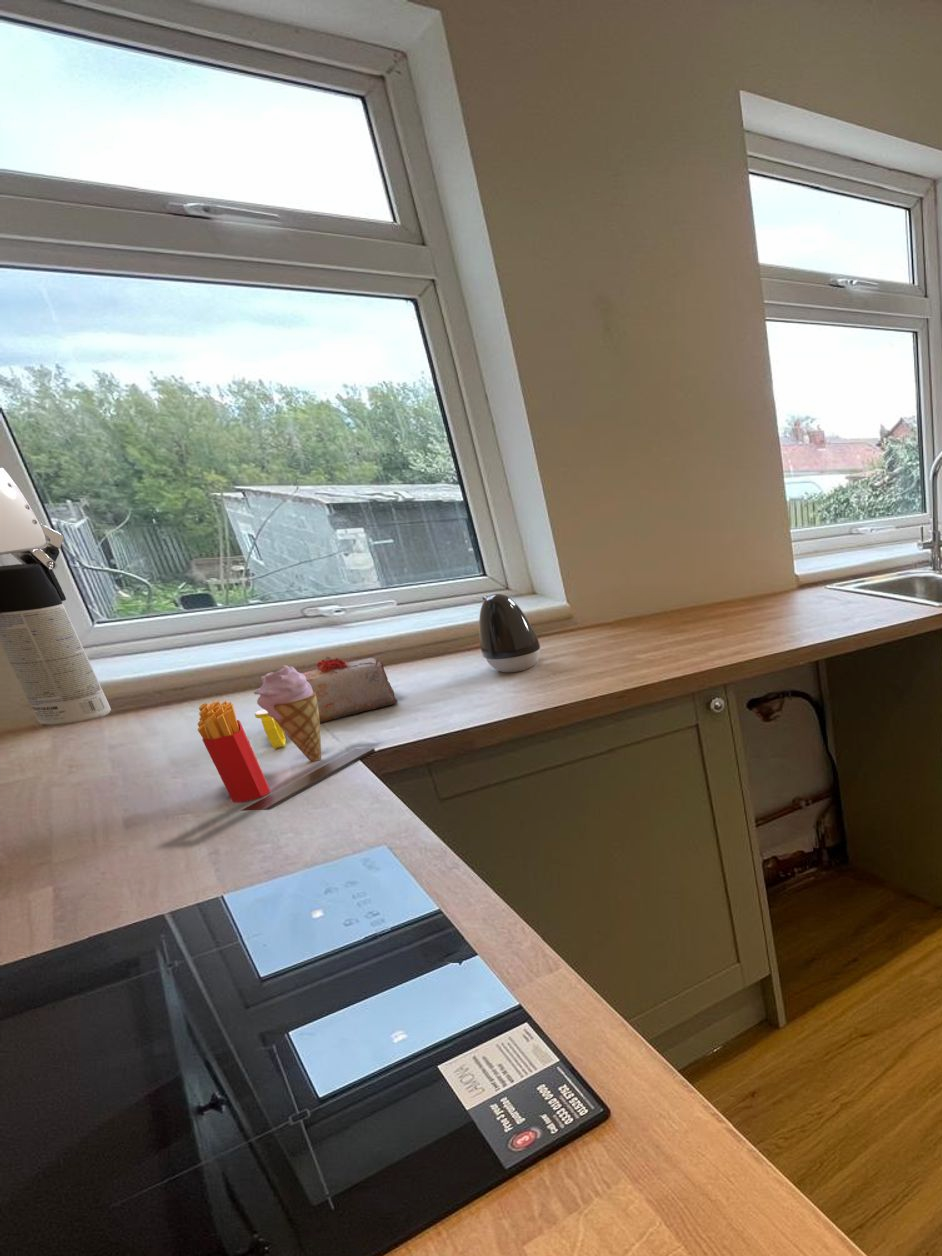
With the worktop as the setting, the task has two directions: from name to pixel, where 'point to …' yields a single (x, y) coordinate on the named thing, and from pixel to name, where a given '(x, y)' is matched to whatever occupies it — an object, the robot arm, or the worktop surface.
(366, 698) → the food item
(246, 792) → the french fries
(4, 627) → the spray can
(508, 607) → the egg-shaped speaker
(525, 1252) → the worktop surface
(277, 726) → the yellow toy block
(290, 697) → the ice cream cone
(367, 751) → the strip
